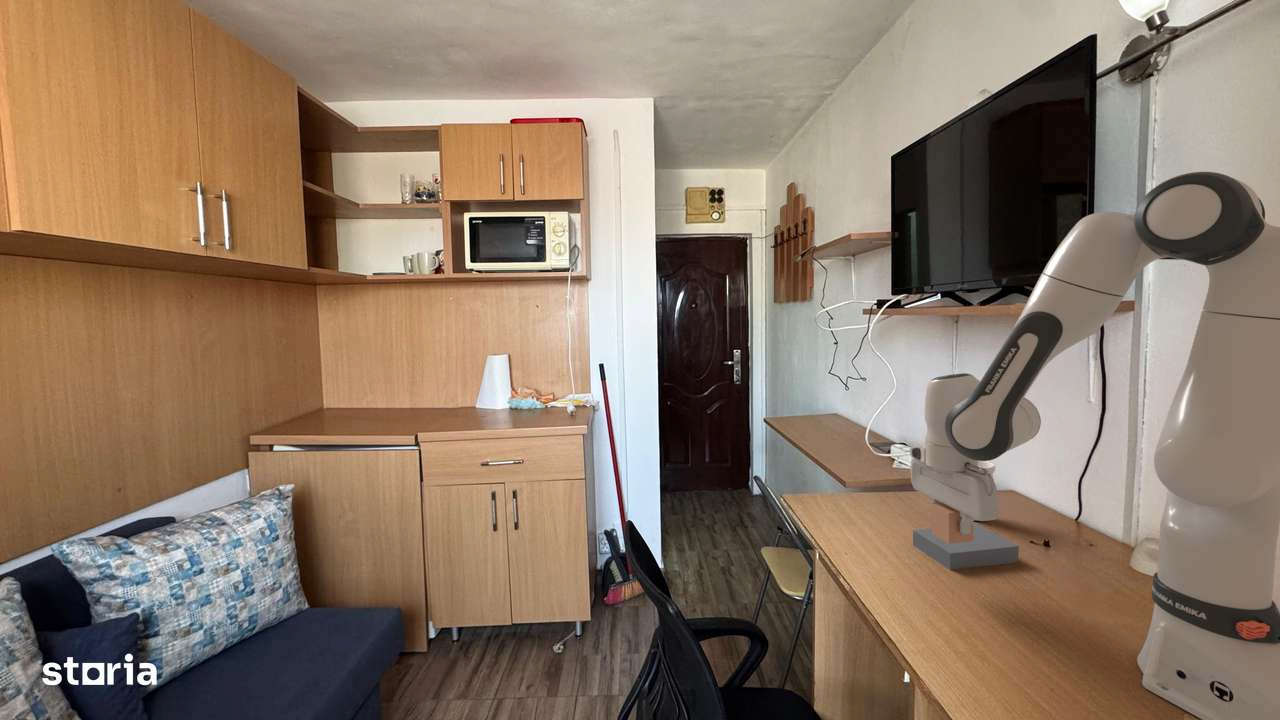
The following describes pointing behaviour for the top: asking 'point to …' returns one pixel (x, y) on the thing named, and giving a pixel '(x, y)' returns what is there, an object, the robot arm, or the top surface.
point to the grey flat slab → (967, 549)
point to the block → (948, 524)
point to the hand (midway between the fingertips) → (951, 526)
